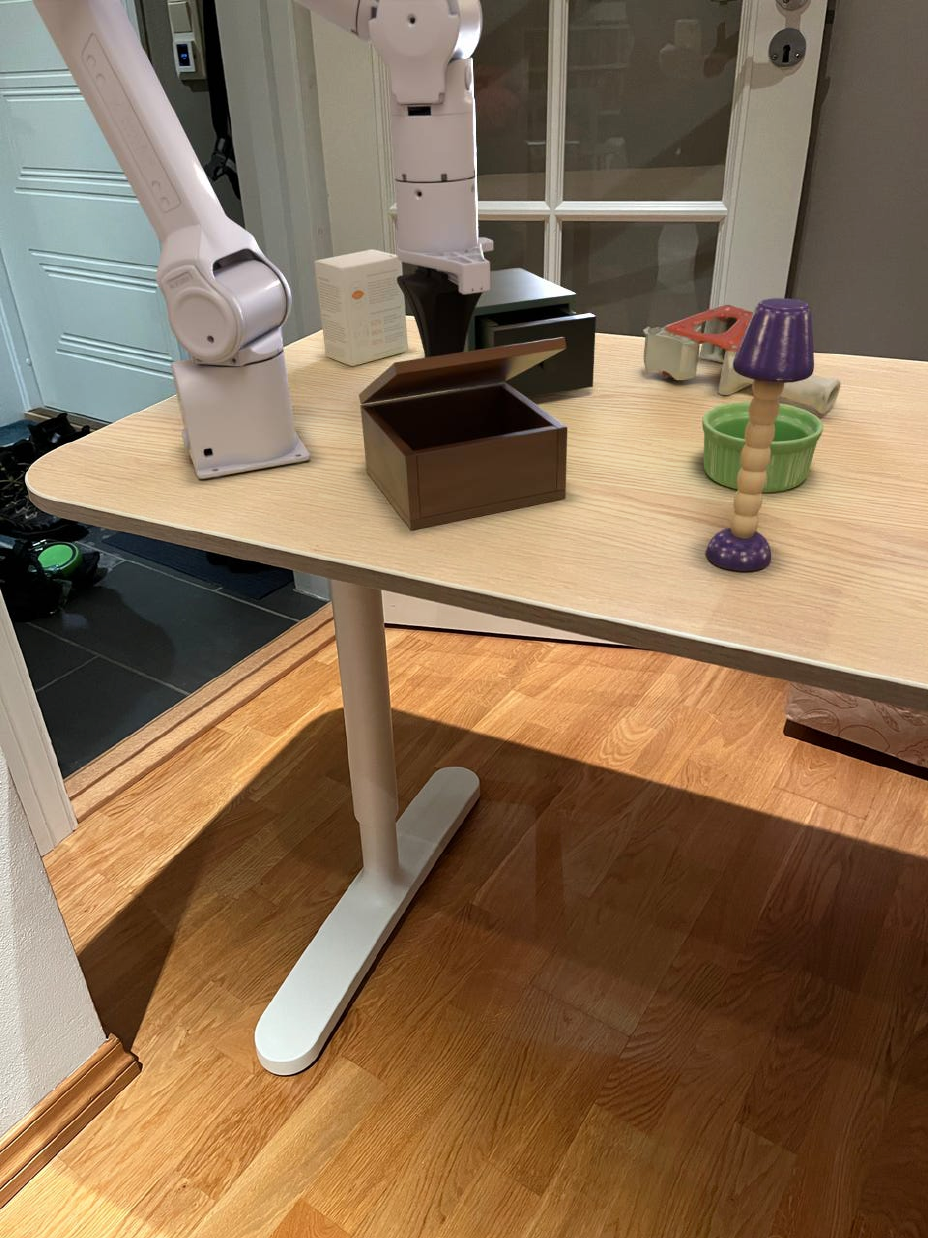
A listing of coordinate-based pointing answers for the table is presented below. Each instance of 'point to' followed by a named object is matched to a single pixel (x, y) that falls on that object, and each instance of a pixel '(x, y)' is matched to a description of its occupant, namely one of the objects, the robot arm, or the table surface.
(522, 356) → the box lid
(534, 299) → the cabinet
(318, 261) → the small box
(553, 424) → the box
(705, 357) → the tape dispenser
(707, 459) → the ramekin
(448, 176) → the robot arm
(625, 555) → the table surface
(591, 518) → the table surface
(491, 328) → the drawer
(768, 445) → the toy lamp
